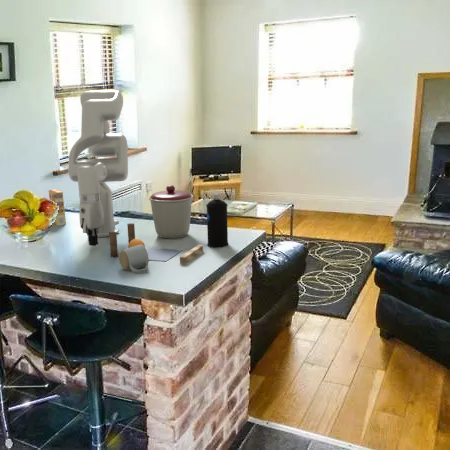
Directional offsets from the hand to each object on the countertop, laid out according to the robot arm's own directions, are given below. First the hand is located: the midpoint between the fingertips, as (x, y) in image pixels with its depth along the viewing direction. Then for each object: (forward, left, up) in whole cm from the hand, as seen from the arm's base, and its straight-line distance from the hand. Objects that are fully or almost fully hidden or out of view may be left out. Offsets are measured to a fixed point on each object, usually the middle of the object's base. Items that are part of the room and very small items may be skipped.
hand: (93, 244), depth 214 cm
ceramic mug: (+17, +28, -2) cm, 33 cm away
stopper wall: (0, +41, -2) cm, 41 cm away
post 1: (+6, +13, -2) cm, 15 cm away
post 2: (-7, +13, -2) cm, 15 cm away
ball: (+2, +20, +2) cm, 20 cm away
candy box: (-31, -39, -2) cm, 50 cm away
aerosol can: (-18, +44, -2) cm, 48 cm away
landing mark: (0, +27, -2) cm, 27 cm away
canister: (-26, +21, -2) cm, 33 cm away
